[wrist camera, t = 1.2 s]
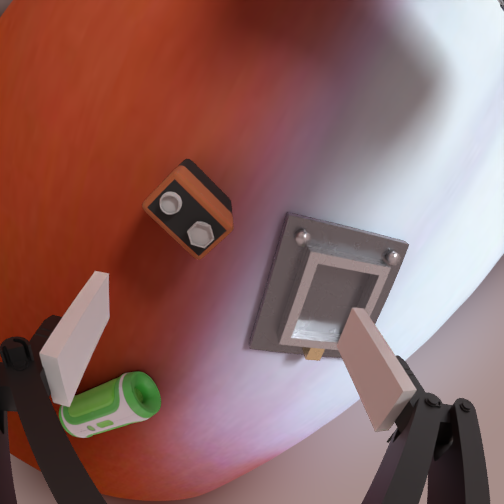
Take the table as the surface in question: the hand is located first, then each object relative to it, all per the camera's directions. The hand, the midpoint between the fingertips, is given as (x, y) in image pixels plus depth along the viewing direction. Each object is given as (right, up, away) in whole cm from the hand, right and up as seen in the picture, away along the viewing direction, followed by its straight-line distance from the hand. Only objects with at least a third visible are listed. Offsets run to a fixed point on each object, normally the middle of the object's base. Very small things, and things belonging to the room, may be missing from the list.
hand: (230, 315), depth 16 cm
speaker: (-21, -19, +28) cm, 40 cm away
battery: (-5, +10, +17) cm, 20 cm away
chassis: (+11, -2, +23) cm, 26 cm away
